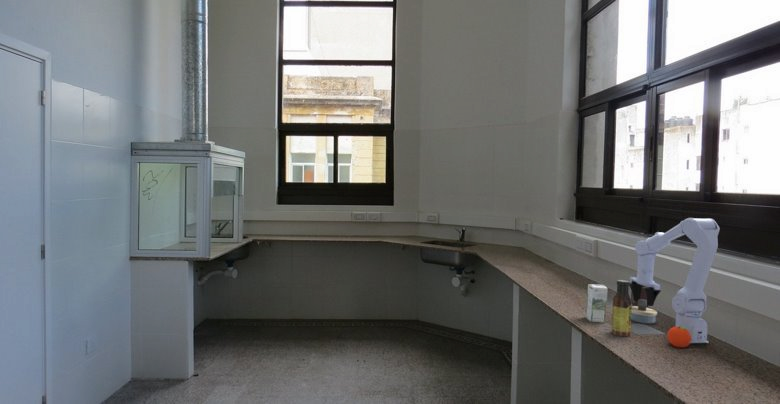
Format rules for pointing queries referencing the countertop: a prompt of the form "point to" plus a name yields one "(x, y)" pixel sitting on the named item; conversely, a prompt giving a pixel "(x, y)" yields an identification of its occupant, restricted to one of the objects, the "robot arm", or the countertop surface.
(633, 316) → the bowl
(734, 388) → the countertop surface
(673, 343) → the clementine
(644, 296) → the box
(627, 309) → the sauce bottle
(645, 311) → the lid
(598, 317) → the syrup box
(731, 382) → the countertop surface
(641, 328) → the mat
